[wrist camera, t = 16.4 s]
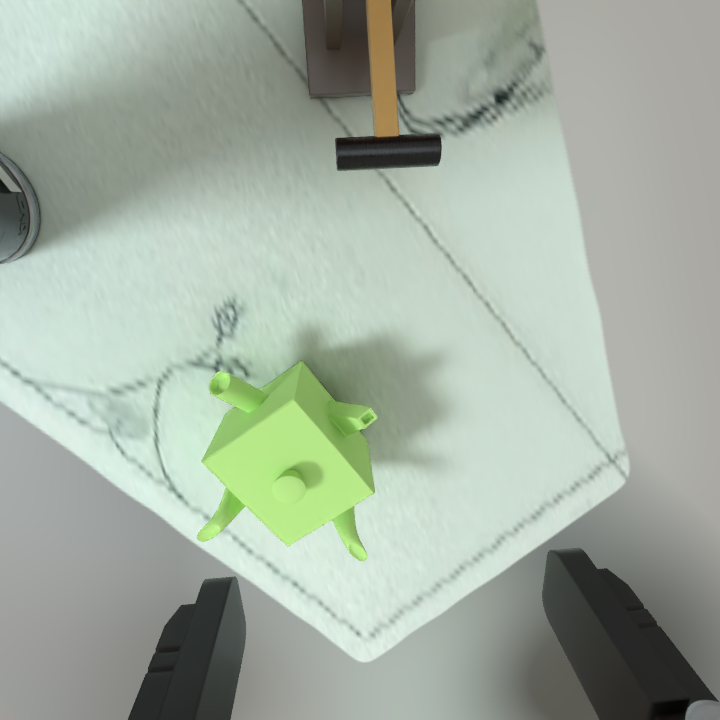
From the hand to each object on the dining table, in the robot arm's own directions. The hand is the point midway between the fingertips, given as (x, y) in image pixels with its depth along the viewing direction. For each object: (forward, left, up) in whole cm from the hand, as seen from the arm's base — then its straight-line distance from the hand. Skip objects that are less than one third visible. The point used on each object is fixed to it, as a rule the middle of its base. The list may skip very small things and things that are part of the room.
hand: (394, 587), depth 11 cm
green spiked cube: (-5, -12, -30) cm, 33 cm away
